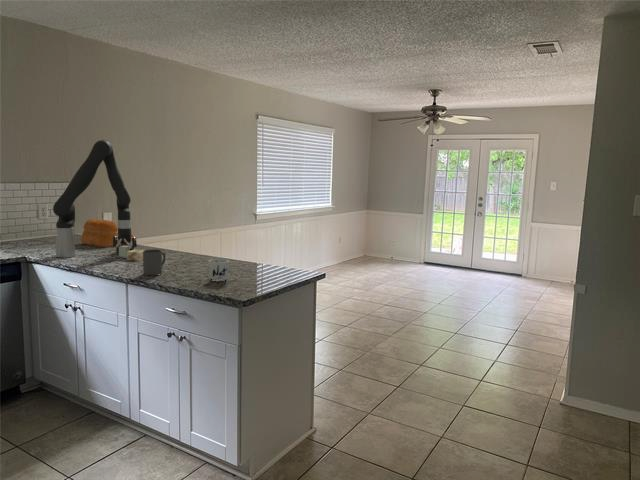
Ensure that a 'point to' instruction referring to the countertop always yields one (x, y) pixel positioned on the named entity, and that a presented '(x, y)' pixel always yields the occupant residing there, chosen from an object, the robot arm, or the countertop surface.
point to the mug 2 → (218, 268)
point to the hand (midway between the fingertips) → (125, 253)
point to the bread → (99, 233)
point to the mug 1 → (153, 262)
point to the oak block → (135, 255)
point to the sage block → (123, 251)
